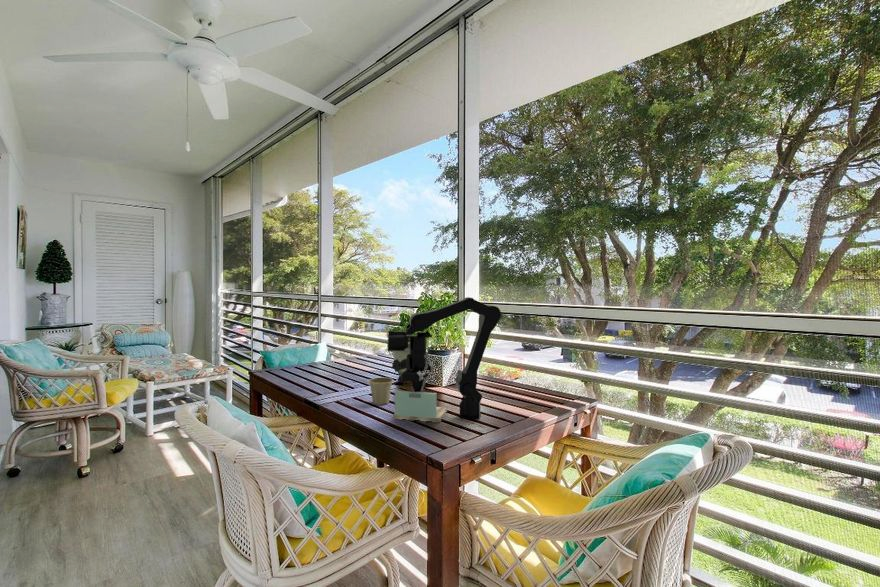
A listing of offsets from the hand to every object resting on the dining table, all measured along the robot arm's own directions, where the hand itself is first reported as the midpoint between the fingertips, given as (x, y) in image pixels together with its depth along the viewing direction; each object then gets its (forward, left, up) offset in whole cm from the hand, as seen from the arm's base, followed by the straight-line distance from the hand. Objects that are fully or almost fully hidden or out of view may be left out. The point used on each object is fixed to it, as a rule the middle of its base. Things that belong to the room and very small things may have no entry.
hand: (417, 396), depth 142 cm
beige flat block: (0, -4, -8) cm, 9 cm away
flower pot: (+19, -15, -8) cm, 25 cm away
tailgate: (0, +3, -6) cm, 7 cm away
